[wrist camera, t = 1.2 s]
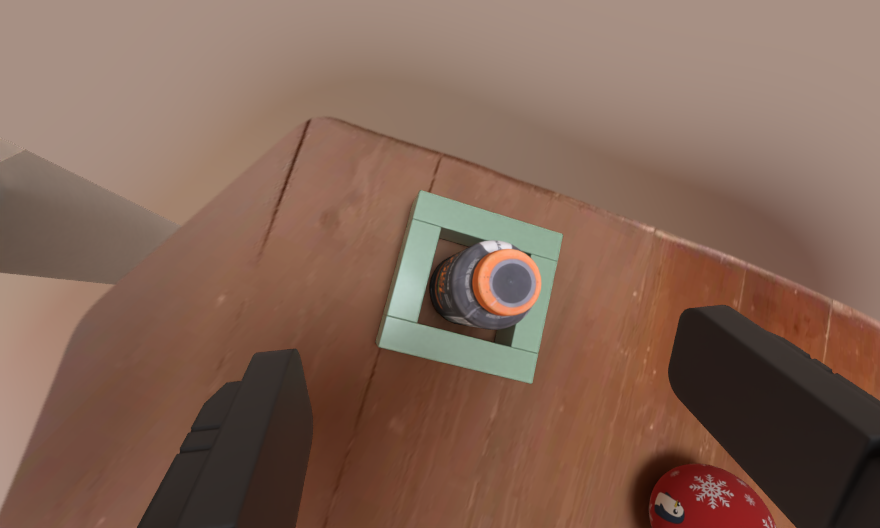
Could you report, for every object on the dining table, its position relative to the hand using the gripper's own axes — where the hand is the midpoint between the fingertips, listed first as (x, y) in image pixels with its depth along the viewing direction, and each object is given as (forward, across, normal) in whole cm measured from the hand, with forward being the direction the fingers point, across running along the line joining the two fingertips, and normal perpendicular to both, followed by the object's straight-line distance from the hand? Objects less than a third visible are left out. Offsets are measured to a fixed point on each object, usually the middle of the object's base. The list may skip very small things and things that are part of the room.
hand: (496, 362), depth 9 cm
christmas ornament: (+16, -20, +30) cm, 40 cm away
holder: (+24, -3, +11) cm, 27 cm away
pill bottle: (+24, -3, +11) cm, 27 cm away
